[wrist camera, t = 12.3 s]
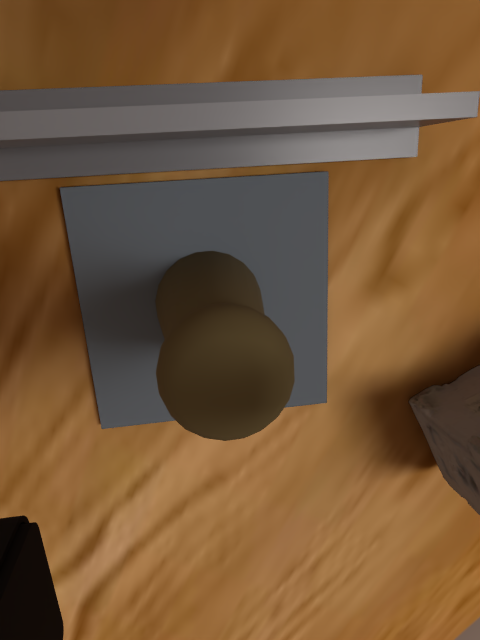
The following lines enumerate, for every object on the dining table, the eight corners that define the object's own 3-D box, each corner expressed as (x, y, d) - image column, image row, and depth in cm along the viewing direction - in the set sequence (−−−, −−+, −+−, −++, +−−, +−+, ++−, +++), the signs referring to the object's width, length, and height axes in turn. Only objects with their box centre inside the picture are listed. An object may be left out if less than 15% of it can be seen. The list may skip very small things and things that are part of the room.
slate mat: (324, 171, 25) (328, 171, 25) (323, 398, 30) (326, 402, 29) (62, 187, 24) (59, 187, 23) (103, 423, 28) (101, 428, 28)
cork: (282, 295, 26) (351, 376, 16) (216, 371, 27) (240, 495, 17) (201, 227, 25) (219, 270, 14) (133, 312, 26) (104, 409, 15)
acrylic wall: (416, 76, 24) (483, 51, 19) (411, 156, 26) (473, 153, 20) (-20, 93, 22) (-82, 69, 17) (-1, 180, 23) (-53, 184, 18)
